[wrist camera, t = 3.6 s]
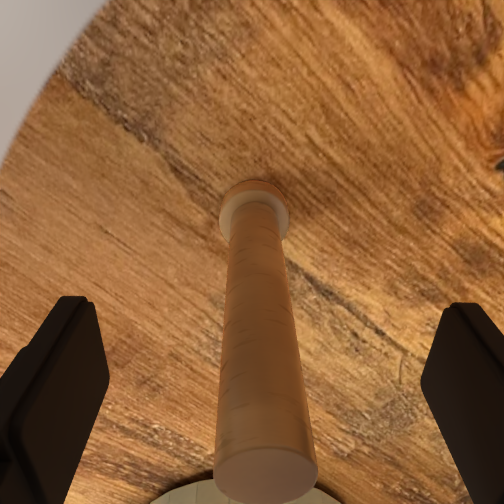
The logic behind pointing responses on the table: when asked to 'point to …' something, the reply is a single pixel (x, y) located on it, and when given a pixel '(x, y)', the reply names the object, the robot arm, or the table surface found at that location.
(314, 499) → the bowl
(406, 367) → the table surface
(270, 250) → the rod
